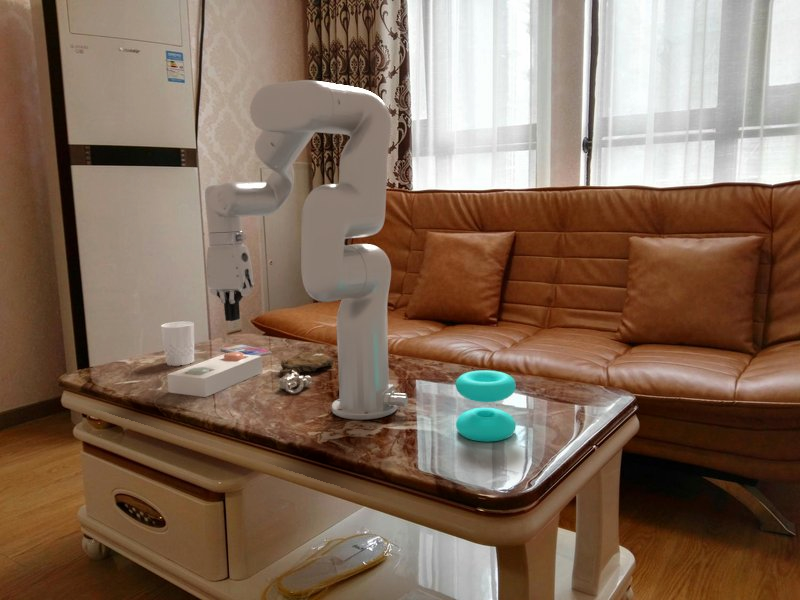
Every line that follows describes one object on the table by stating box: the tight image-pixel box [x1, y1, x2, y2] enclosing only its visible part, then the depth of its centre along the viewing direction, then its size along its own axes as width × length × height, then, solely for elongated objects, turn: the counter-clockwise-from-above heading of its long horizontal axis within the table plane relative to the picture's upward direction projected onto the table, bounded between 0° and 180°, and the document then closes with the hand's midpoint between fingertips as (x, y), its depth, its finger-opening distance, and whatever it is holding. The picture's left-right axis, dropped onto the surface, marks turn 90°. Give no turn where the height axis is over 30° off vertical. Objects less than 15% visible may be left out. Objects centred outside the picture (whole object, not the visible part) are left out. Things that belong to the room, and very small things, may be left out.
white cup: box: [160, 320, 195, 367], centre depth 159 cm, size 8×8×10 cm
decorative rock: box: [280, 351, 335, 376], centre depth 150 cm, size 11×4×15 cm
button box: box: [166, 352, 264, 398], centre depth 141 cm, size 10×20×4 cm, turn 157°
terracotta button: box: [223, 352, 244, 362], centre depth 146 cm, size 4×4×4 cm
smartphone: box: [220, 344, 272, 357], centre depth 169 cm, size 7×1×15 cm
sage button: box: [188, 367, 209, 376], centre depth 135 cm, size 4×4×4 cm
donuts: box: [455, 369, 517, 443], centre depth 106 cm, size 10×10×10 cm
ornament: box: [279, 370, 313, 395], centre depth 134 cm, size 8×7×4 cm
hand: (232, 319), depth 144 cm, fingers closed
